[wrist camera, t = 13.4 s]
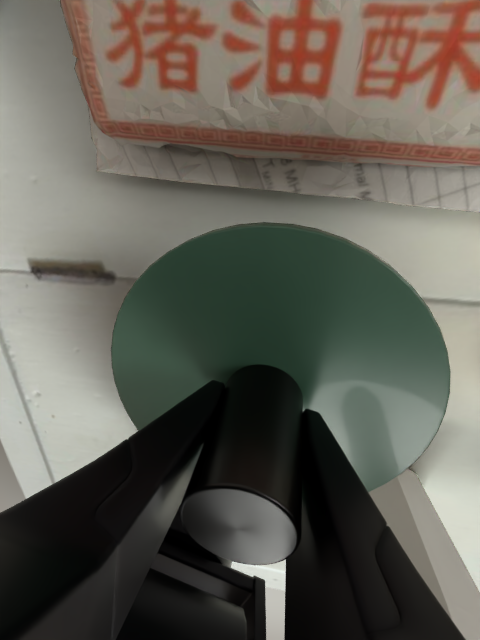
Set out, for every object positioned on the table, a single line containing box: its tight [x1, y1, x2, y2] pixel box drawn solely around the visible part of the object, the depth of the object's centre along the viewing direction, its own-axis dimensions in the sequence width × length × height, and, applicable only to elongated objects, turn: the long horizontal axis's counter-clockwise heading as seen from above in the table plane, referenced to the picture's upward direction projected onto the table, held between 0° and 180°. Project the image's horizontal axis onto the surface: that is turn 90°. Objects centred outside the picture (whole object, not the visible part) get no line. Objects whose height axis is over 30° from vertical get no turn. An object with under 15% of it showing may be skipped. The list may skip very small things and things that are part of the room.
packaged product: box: [60, 0, 480, 212], centre depth 9 cm, size 18×5×10 cm
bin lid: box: [111, 222, 450, 565], centre depth 8 cm, size 10×10×5 cm
